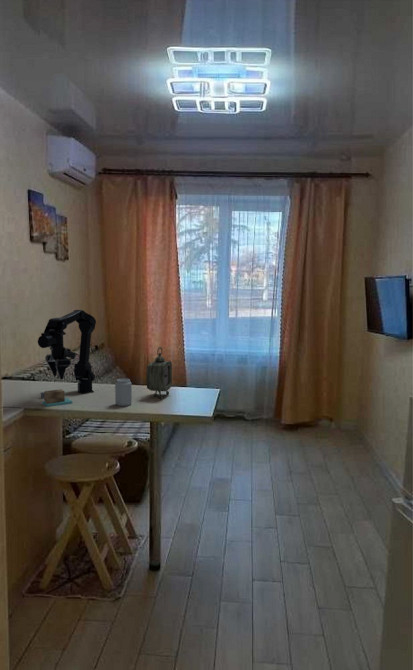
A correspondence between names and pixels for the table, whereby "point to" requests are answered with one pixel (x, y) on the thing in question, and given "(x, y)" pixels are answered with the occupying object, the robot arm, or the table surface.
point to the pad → (67, 401)
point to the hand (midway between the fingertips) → (58, 377)
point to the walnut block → (54, 396)
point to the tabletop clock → (159, 375)
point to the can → (123, 392)
